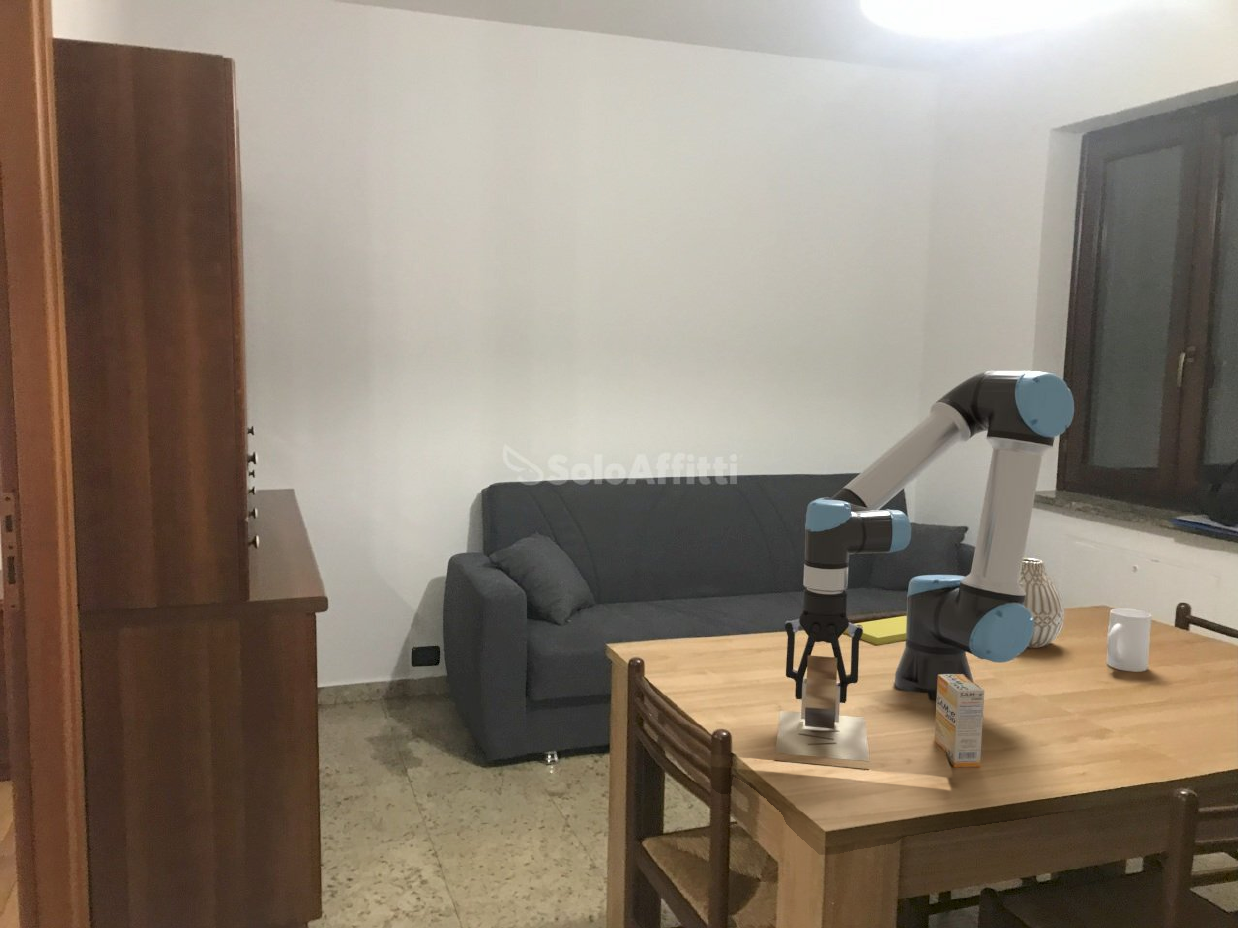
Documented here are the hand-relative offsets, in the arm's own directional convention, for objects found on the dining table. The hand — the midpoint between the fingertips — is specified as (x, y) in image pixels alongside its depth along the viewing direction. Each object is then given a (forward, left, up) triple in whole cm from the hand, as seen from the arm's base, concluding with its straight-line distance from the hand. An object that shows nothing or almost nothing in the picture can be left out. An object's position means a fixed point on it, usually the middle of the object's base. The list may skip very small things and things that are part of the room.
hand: (819, 717), depth 172 cm
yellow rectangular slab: (-18, -72, -3) cm, 74 cm away
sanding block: (0, +6, +2) cm, 6 cm away
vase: (-47, -70, -3) cm, 85 cm away
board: (0, +5, -3) cm, 5 cm away
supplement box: (-22, +6, -3) cm, 23 cm away
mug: (-64, -55, -3) cm, 85 cm away
